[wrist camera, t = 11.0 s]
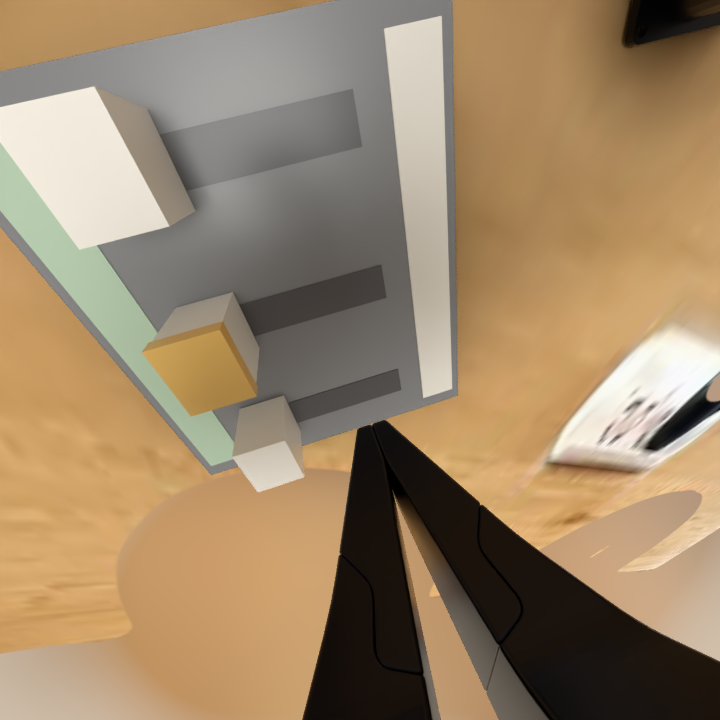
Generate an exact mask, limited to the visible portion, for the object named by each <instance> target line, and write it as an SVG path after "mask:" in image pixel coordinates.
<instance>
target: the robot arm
mask: <svg viewBox="0 0 720 720" xmlns="http://www.w3.org/2000/svg"><path fill="white" fill-rule="evenodd" d="M717 26H720V0H633V4H632V9H631V13H630V18H629V22H628V27H627V31H626V37H625V42H626V45H627V46H628V47H635V46H639V45H643V44H647V43H651V42H655V41H659V40H664V39H668V38H672V37H676V36H680V35H684V34H688V33H692V32H696V31H701V30H705V29H709V28H713V27H717ZM639 28H640V30H639ZM638 30H639V34H638ZM393 494H394V495H393ZM394 497H395V499H396V502H397V504H398V506H399V508H400V511H401V513H402V515H403V517H404V519H405V521H406V523H407V525H408V528H409V530H410V532H411V534H412V536H413V538H414V540H415V542H416V545H417V547H418V549H419V551H420V553H421V555H422V557H423V559H424V561H425V563H426V566H427V568H428V570H429V572H430V574H431V576H432V579H433V581H434V583H435V585H436V587H437V589H438V591H439V593H440V596H441V598H442V600H443V602H444V604H445V606H446V608H447V610H448V613H449V614H450V617H451V619H452V621H453V623H454V625H455V627H456V630H457V632H458V634H459V636H460V638H461V640H462V642H463V644H464V646H465V649H466V651H467V653H468V655H469V657H470V659H471V661H472V663H473V665H474V668H475V670H476V672H477V674H478V676H479V678H480V680H481V682H482V685H483V687H484V689H485V690H486V691H487V695H488V697H489V700H490V702H491V704H492V706H493V708H494V710H495V712H496V714H497V717H498V719H499V720H720V661H718V660H716V659H714V658H712V657H709V656H707V655H705V654H703V653H701V652H699V651H697V650H695V649H692V648H690V647H688V646H686V645H684V644H682V643H680V642H678V641H675V640H673V639H671V638H669V637H667V636H665V635H663V634H661V633H659V632H658V631H656V630H654V629H651V628H650V627H648V626H647V625H645V624H643V623H642V622H640V621H638V620H637V619H635V618H633V617H632V616H630V615H629V614H627V613H626V612H624V611H623V610H621V609H619V608H618V607H617V606H615V605H614V604H612V603H611V602H610V601H608V600H607V599H605V598H604V597H603V596H601V595H600V594H598V593H597V592H596V591H594V590H593V589H591V588H590V587H589V586H587V585H586V584H585V583H583V582H582V581H580V580H579V579H578V578H576V577H575V576H573V575H572V574H571V573H569V572H568V571H566V570H565V569H564V568H562V567H561V566H559V565H558V564H557V563H555V562H554V561H553V560H551V559H550V558H548V557H547V556H546V555H544V554H543V553H541V552H540V551H539V550H538V549H536V548H535V547H534V546H532V545H531V544H530V543H528V542H527V541H526V540H524V539H523V538H522V537H520V536H519V535H518V534H516V533H515V532H514V531H513V530H512V529H510V528H509V527H508V526H507V525H506V524H504V523H503V522H502V521H501V520H500V519H498V518H497V517H496V516H495V515H494V514H493V513H491V512H490V511H489V510H488V509H487V508H486V507H485V506H483V505H480V502H479V501H478V500H476V499H475V498H474V497H473V496H472V495H471V494H470V493H468V492H467V491H466V490H465V489H464V488H463V487H462V486H460V485H459V484H458V483H457V482H456V481H455V480H454V479H452V478H451V477H450V476H449V475H448V474H447V473H446V472H444V471H443V470H442V469H441V468H440V467H439V466H438V465H436V464H435V463H434V462H433V461H432V460H431V459H430V458H429V457H427V456H426V455H425V454H424V453H423V452H422V451H421V450H419V449H418V448H417V447H416V446H415V445H414V444H413V443H411V442H410V441H409V440H408V439H407V438H406V437H405V436H403V435H402V434H401V433H400V432H399V431H398V430H397V429H395V428H394V427H393V426H392V425H391V424H390V423H389V422H387V421H386V420H382V421H379V422H376V423H374V424H373V425H372V426H371V425H367V426H364V427H361V428H359V429H358V430H357V436H356V442H355V449H354V456H353V463H352V470H351V477H350V483H349V490H348V497H347V504H346V511H345V517H344V525H343V531H342V538H341V544H340V554H341V555H339V558H338V564H337V571H336V577H335V582H334V588H333V594H332V600H331V605H330V609H329V614H328V618H327V622H326V627H325V631H324V636H323V640H322V644H321V648H320V652H319V656H318V660H317V663H316V668H315V672H314V676H313V680H312V683H311V687H310V692H309V696H308V699H307V704H306V707H305V711H304V715H303V719H302V720H441V718H440V713H439V711H438V704H437V699H436V694H435V689H434V685H433V680H432V675H431V670H430V665H429V661H428V656H427V651H426V646H425V641H424V636H423V632H422V627H421V622H420V617H419V612H418V608H417V603H416V598H415V593H414V588H413V584H412V579H411V574H410V569H409V564H408V560H407V555H406V551H405V545H404V541H403V536H402V531H401V526H400V521H399V516H398V512H397V508H396V503H395V499H394Z"/></svg>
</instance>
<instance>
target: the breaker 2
mask: <svg viewBox="0 0 720 720" xmlns="http://www.w3.org/2000/svg"><path fill="white" fill-rule="evenodd" d="M232 458H233V459H234V461H235V462H236V463H237V465H238V466H239V467H240V469H241V470H242V472H243V473H244V474H245V476H246V477H247V478H248V480H249V481H250V482H251V484H252V485H253V486H254V488H255V489H256V490H257V492H261V491H264V490H266V489H270V488H273V487H276V486H279V485H282V484H285V483H288V482H291V481H294V480H297V479H300V478H303V477H305V476H304V464H303V453H302V442H301V431H300V429H299V426H298V424H297V422H296V420H295V418H294V416H293V414H292V412H291V410H290V408H289V405H288V403H287V401H286V399H285V397H284V395H283V396H280V397H277V398H273V399H270V400H267V401H264V402H260V403H257V404H254V405H251V406H247V407H244V408H241V409H239V416H238V422H237V429H236V435H235V442H234V448H233V455H232Z"/></svg>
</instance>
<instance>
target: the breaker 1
mask: <svg viewBox="0 0 720 720" xmlns="http://www.w3.org/2000/svg"><path fill="white" fill-rule="evenodd" d="M0 143H1V144H2V145H3V147H4V148H5V150H6V151H7V152H8V154H9V155H10V156H11V158H12V159H13V160H14V162H15V163H16V164H17V166H18V167H19V169H20V170H21V171H22V173H23V174H24V175H25V177H26V178H27V179H28V181H29V182H30V184H31V185H32V186H33V188H34V189H35V190H36V192H37V193H38V194H39V196H40V197H41V198H42V200H43V201H44V203H45V204H46V205H47V207H48V208H49V209H50V211H51V212H52V213H53V215H54V216H55V217H56V219H57V220H58V222H59V223H60V224H61V226H62V227H63V228H64V230H65V231H66V232H67V234H68V235H69V237H70V238H71V239H72V241H73V242H74V243H75V245H76V246H77V247H78V249H79V250H81V249H84V248H88V247H92V246H96V245H100V244H104V243H108V242H111V241H115V240H119V239H123V238H127V237H131V236H135V235H138V234H142V233H146V232H150V231H154V230H158V229H162V228H165V227H169V226H171V225H173V224H175V223H176V222H178V221H180V220H181V219H183V218H185V217H186V216H188V215H190V214H192V213H193V212H195V208H194V206H193V204H192V202H191V200H190V198H189V196H188V194H187V192H186V190H185V188H184V185H183V183H182V181H181V179H180V177H179V175H178V173H177V171H176V169H175V167H174V164H173V162H172V160H171V158H170V156H169V154H168V152H167V150H166V148H165V146H164V144H163V141H162V139H161V137H160V135H159V133H158V131H157V129H156V127H155V125H154V123H153V120H152V118H151V116H150V114H149V112H148V110H147V108H145V107H142V106H140V105H137V104H135V103H133V102H130V101H128V100H126V99H123V98H121V97H118V96H116V95H114V94H111V93H109V92H106V91H104V90H102V89H99V88H97V87H95V86H94V87H89V88H85V89H80V90H76V91H71V92H67V93H62V94H58V95H53V96H49V97H44V98H40V99H35V100H30V101H26V102H21V103H17V104H12V105H8V106H3V107H0Z"/></svg>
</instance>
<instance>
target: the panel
mask: <svg viewBox="0 0 720 720" xmlns="http://www.w3.org/2000/svg"><path fill="white" fill-rule="evenodd" d="M94 86H95V87H97V88H99V89H102V90H104V91H106V92H109V93H111V94H114V95H116V96H118V97H121V98H123V99H126V100H128V101H130V102H133V103H135V104H137V105H140V106H142V107H145V108H147V110H148V112H149V114H150V116H151V118H152V120H153V123H154V125H155V127H156V129H157V131H158V133H159V135H160V137H161V139H162V141H163V144H164V146H165V148H166V150H167V152H168V154H169V156H170V158H171V160H172V162H173V164H174V167H175V169H176V171H177V173H178V175H179V177H180V179H181V181H182V183H183V185H184V188H185V190H186V192H187V194H188V196H189V198H190V200H191V202H192V204H193V206H194V208H195V212H193V213H192V214H190V215H188V216H186V217H185V218H183V219H181V220H180V221H178V222H176V223H175V224H173V225H171V226H169V227H165V228H162V229H158V230H154V231H150V232H146V233H142V234H138V235H135V236H131V237H127V238H123V239H119V240H115V241H111V242H108V243H104V244H100V245H96V246H92V247H88V248H84V249H81V250H79V249H78V247H77V246H76V245H75V243H74V242H73V241H72V239H71V238H70V237H69V235H68V234H67V232H66V231H65V230H64V228H63V227H62V226H61V224H60V223H59V222H58V220H57V219H56V217H55V216H54V215H53V213H52V212H51V211H50V209H49V208H48V207H47V205H46V204H45V203H44V201H43V200H42V198H41V197H40V196H39V194H38V193H37V192H36V190H35V189H34V188H33V186H32V185H31V184H30V182H29V181H28V179H27V178H26V177H25V175H24V174H23V173H22V171H21V170H20V169H19V167H18V166H17V164H16V163H15V162H14V160H13V159H12V158H11V156H10V155H9V154H8V152H7V151H6V150H5V148H4V147H3V145H2V144H1V143H0V227H1V229H2V230H3V231H4V232H5V233H6V234H7V236H8V237H9V238H10V239H11V240H12V242H13V243H14V244H15V245H16V246H17V247H18V249H19V250H20V251H21V252H22V253H23V254H24V256H25V257H26V258H27V259H28V260H29V261H30V263H31V264H32V265H33V266H34V267H35V269H36V270H37V271H38V272H39V273H40V274H41V276H42V277H43V278H44V279H45V280H46V281H47V283H48V284H49V285H50V286H51V287H52V289H53V290H54V291H55V292H56V293H57V294H58V296H59V297H60V298H61V299H62V300H63V301H64V303H65V304H66V305H67V306H68V307H69V309H70V310H71V311H72V312H73V313H74V314H75V316H76V317H77V318H78V319H79V320H80V321H81V323H82V324H83V325H84V326H85V327H86V329H87V330H88V331H89V332H90V333H91V334H92V336H93V337H94V338H95V339H96V340H97V341H98V343H99V344H100V345H101V346H102V347H103V349H104V350H105V351H106V352H107V353H108V354H109V356H110V357H111V358H112V359H113V360H114V361H115V363H116V364H117V365H118V366H119V367H120V368H121V370H122V371H123V372H124V373H125V374H126V376H127V377H128V378H129V379H130V380H131V381H132V383H133V384H134V385H135V386H136V387H137V388H138V390H139V391H140V392H141V393H142V394H143V396H144V397H145V398H146V399H147V400H148V401H149V403H150V404H151V405H152V406H153V407H154V408H155V410H156V411H157V412H158V413H159V414H160V416H161V417H162V418H163V419H164V420H165V421H166V423H167V424H168V425H169V426H170V427H171V428H172V430H173V431H174V432H175V433H176V434H177V436H178V437H179V438H180V439H181V440H182V441H183V443H184V444H185V445H186V446H187V447H188V448H189V450H190V451H191V452H192V453H193V454H194V455H195V457H196V458H197V459H198V460H199V461H200V463H201V464H202V465H203V466H204V467H205V468H206V470H207V471H208V472H209V473H210V474H211V475H214V474H217V473H220V472H223V471H226V470H229V469H232V468H235V467H238V465H237V463H236V462H235V461H234V459H233V458H232V455H233V448H234V442H235V435H236V429H237V422H238V416H239V409H241V408H244V407H247V406H251V405H254V404H257V403H260V402H264V401H267V400H270V399H273V398H277V397H280V396H283V395H284V397H285V399H286V401H287V403H288V405H289V408H290V410H291V412H292V414H293V416H294V418H295V420H296V422H297V424H298V426H299V429H300V431H301V442H302V446H303V445H306V444H310V443H313V442H316V441H319V440H322V439H325V438H328V437H331V436H334V435H337V434H341V433H344V432H347V431H350V430H353V429H356V428H359V427H362V426H365V425H368V424H371V423H375V422H378V421H381V420H384V419H387V418H390V417H393V416H396V415H399V414H402V413H406V412H409V411H412V410H415V409H418V408H421V407H424V406H427V405H430V404H433V403H437V402H440V401H443V400H446V399H449V398H452V397H455V396H458V371H457V299H456V228H455V156H454V84H453V12H452V0H334V1H329V2H325V3H320V4H315V5H311V6H306V7H301V8H296V9H292V10H287V11H282V12H278V13H273V14H268V15H264V16H259V17H254V18H250V19H245V20H240V21H236V22H231V23H226V24H221V25H217V26H212V27H207V28H203V29H198V30H193V31H189V32H184V33H179V34H175V35H170V36H165V37H160V38H156V39H151V40H146V41H142V42H137V43H132V44H128V45H123V46H118V47H114V48H109V49H104V50H100V51H95V52H90V53H85V54H81V55H76V56H71V57H67V58H62V59H57V60H53V61H48V62H43V63H39V64H34V65H29V66H24V67H20V68H15V69H10V70H6V71H1V72H0V107H3V106H8V105H12V104H17V103H21V102H26V101H30V100H35V99H40V98H44V97H49V96H53V95H58V94H62V93H67V92H71V91H76V90H80V89H85V88H89V87H94ZM230 292H233V294H234V296H235V298H236V300H237V302H238V304H239V306H240V308H241V310H242V312H243V314H244V316H245V318H246V321H247V323H248V325H249V327H250V329H251V331H252V333H253V335H254V337H255V339H256V341H257V343H258V346H259V348H260V350H259V361H258V371H257V382H256V384H257V386H258V387H257V397H254V398H250V399H247V400H244V401H241V402H237V403H234V404H231V405H228V406H224V407H221V408H218V409H215V410H211V411H208V412H205V413H202V414H198V415H195V416H192V417H191V416H190V415H189V413H188V412H187V411H186V409H185V408H184V407H183V405H182V404H181V403H180V401H179V400H178V399H177V398H176V396H175V395H174V394H173V392H172V391H171V390H170V388H169V387H168V386H167V385H166V383H165V382H164V381H163V379H162V378H161V377H160V375H159V374H158V373H157V371H156V370H155V369H154V368H153V366H152V365H151V364H150V362H149V361H148V360H147V358H146V357H145V356H144V355H143V353H142V351H143V350H144V348H145V347H146V346H147V344H148V343H149V342H152V341H153V339H154V338H155V336H156V335H157V333H158V332H159V331H160V329H161V328H162V326H163V325H164V323H165V322H166V321H167V319H168V318H169V316H170V315H171V314H172V312H173V311H174V309H175V308H177V307H180V306H184V305H188V304H191V303H195V302H198V301H202V300H205V299H209V298H213V297H216V296H220V295H223V294H227V293H230Z"/></svg>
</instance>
